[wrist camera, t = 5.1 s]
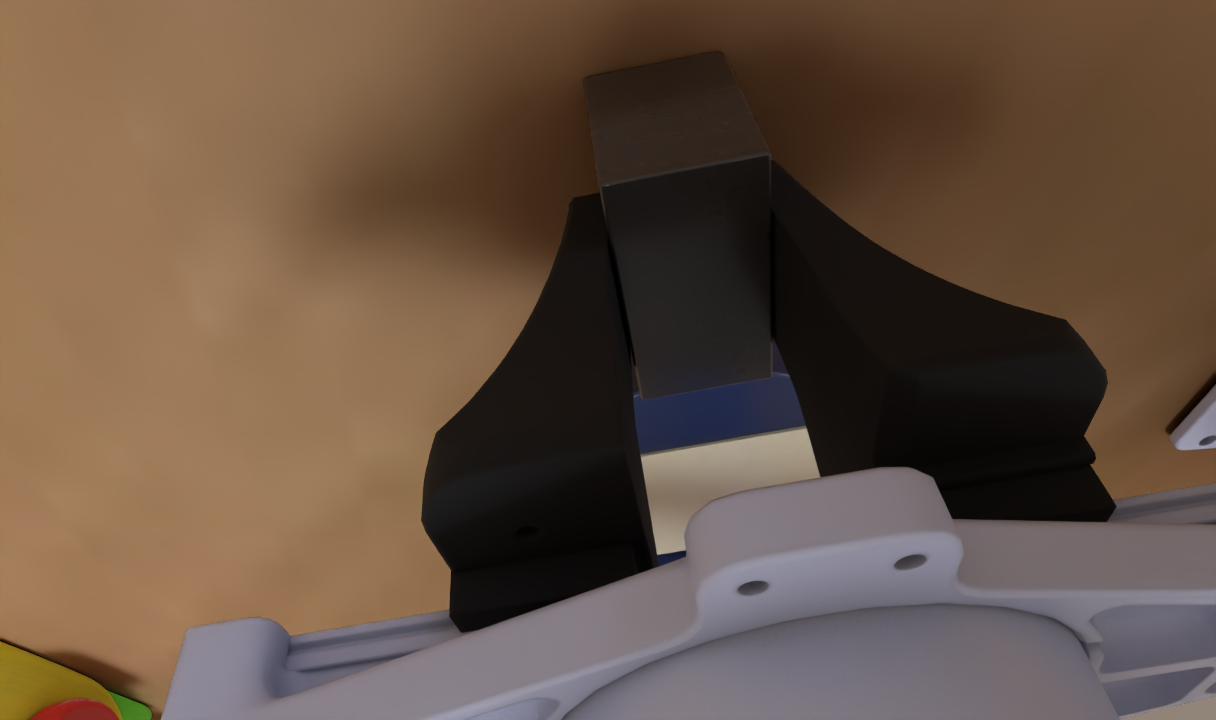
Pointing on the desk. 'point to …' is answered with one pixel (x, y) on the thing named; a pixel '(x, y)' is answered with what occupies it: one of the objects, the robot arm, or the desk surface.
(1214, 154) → the desk surface
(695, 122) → the blue stamp
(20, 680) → the toy measuring tape
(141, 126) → the desk surface
